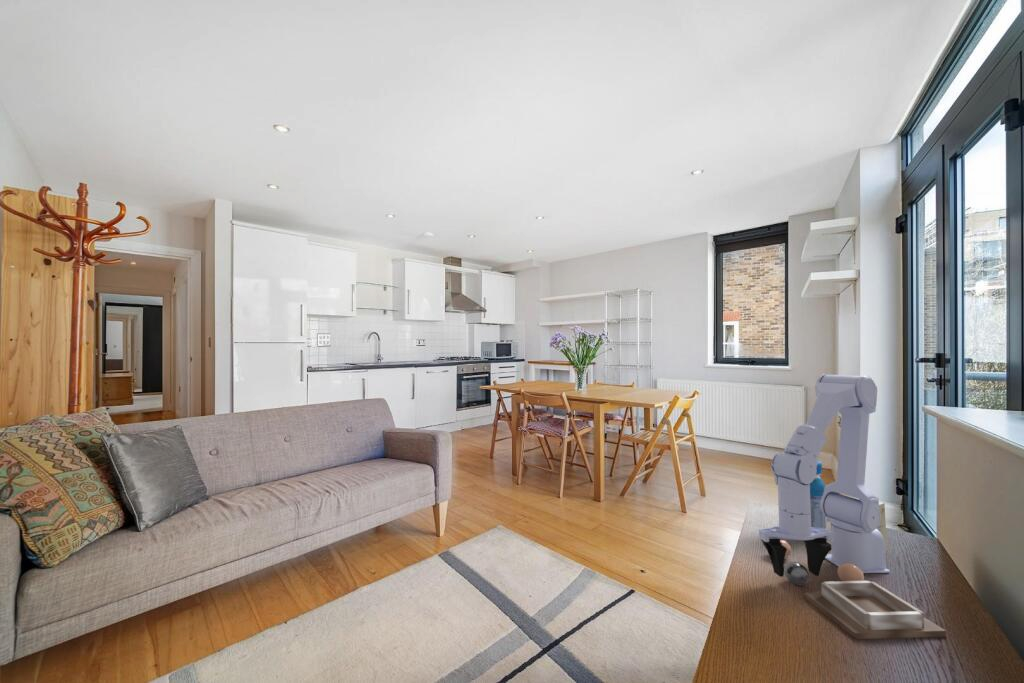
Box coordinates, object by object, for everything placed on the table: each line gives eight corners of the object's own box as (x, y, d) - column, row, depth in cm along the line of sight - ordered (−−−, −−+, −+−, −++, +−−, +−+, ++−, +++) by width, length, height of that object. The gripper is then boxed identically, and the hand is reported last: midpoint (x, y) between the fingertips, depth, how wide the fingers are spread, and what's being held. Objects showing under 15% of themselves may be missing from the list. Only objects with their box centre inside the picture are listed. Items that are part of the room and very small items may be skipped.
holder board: (882, 595, 83) (881, 578, 83) (946, 636, 71) (945, 616, 71) (804, 597, 83) (804, 580, 83) (855, 639, 71) (854, 618, 71)
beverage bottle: (830, 544, 105) (827, 465, 106) (790, 536, 110) (788, 461, 110) (826, 531, 112) (823, 458, 113) (789, 525, 117) (786, 454, 117)
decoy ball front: (783, 552, 101) (782, 534, 101) (795, 562, 97) (795, 543, 97) (765, 553, 101) (765, 535, 101) (777, 562, 96) (776, 543, 97)
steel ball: (799, 577, 90) (798, 557, 90) (814, 589, 85) (813, 567, 86) (779, 578, 90) (779, 557, 90) (793, 589, 85) (793, 568, 86)
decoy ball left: (852, 579, 89) (851, 558, 89) (870, 590, 85) (869, 569, 85) (832, 579, 89) (831, 559, 89) (849, 591, 85) (848, 569, 85)
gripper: (813, 502, 92) (815, 563, 92) (749, 503, 92) (751, 564, 92) (838, 514, 85) (841, 581, 85) (770, 515, 85) (772, 582, 84)
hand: (796, 573), depth 88 cm, fingers open, 7 cm apart
